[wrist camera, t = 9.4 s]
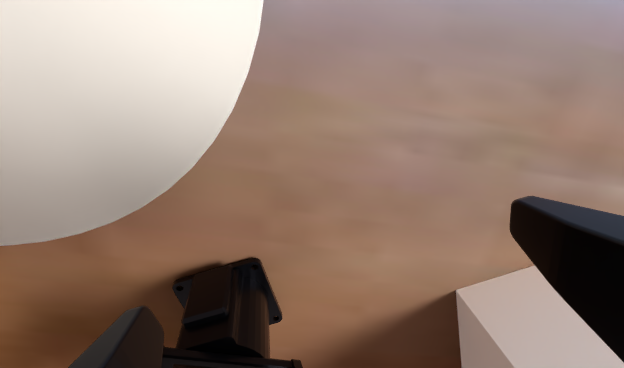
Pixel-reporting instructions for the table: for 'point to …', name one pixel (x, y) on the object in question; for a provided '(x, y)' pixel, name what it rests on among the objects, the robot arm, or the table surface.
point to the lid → (110, 104)
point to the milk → (525, 327)
